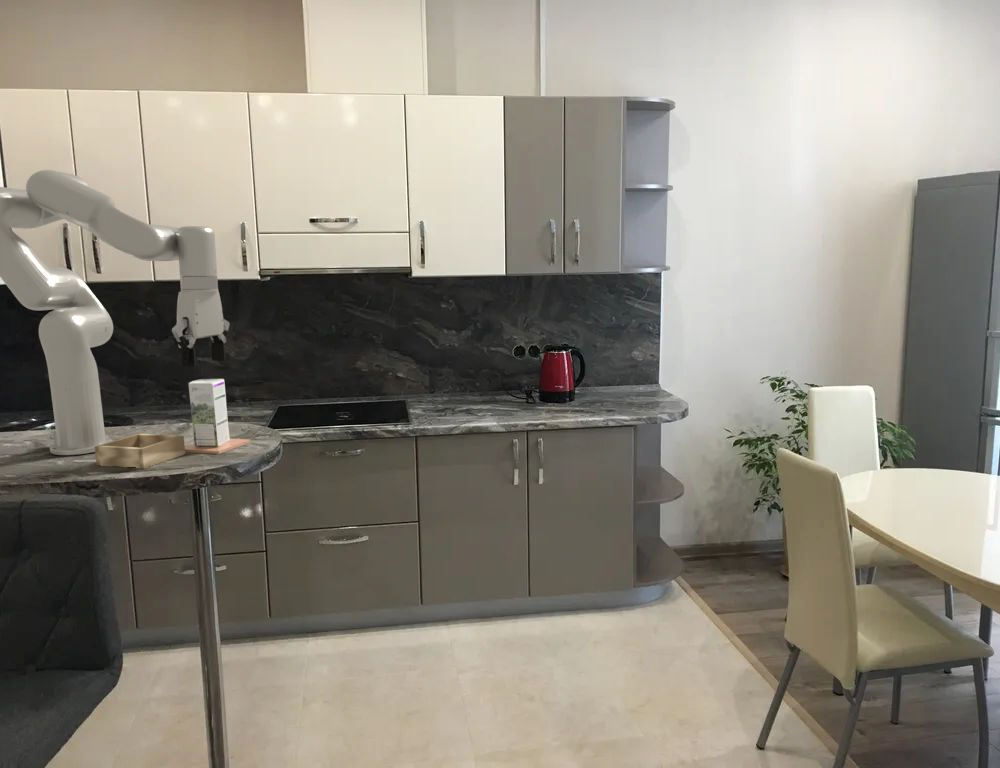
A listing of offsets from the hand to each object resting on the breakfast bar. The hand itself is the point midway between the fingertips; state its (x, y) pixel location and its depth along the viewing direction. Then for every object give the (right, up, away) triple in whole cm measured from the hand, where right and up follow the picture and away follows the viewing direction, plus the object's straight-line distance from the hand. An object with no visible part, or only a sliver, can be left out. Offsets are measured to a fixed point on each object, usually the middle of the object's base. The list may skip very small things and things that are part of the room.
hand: (204, 363), depth 168 cm
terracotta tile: (+1, -19, +3) cm, 19 cm away
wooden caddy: (-11, -20, -7) cm, 24 cm away
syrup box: (+1, -18, +3) cm, 18 cm away
